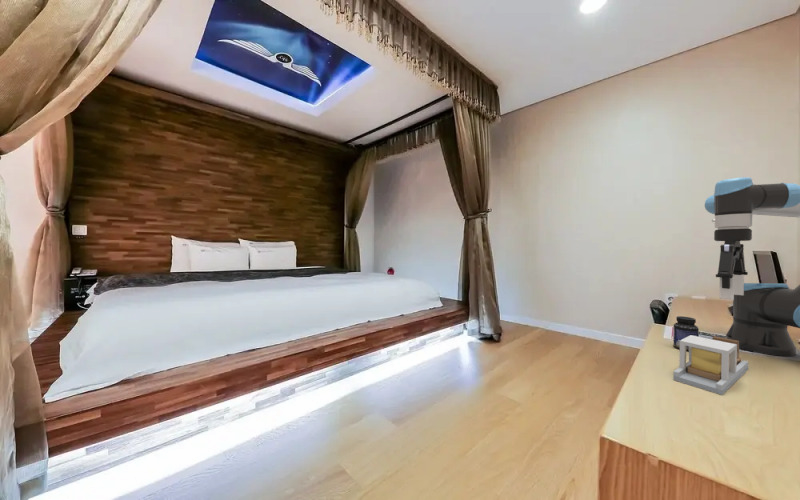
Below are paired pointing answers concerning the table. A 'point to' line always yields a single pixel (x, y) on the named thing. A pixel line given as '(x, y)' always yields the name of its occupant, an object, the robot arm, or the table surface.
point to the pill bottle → (684, 330)
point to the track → (728, 371)
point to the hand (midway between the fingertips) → (731, 296)
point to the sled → (709, 361)
